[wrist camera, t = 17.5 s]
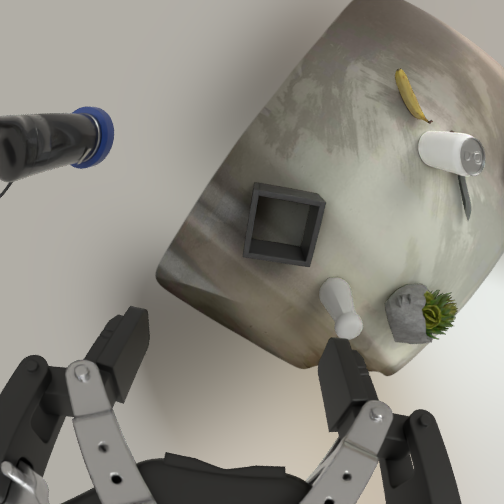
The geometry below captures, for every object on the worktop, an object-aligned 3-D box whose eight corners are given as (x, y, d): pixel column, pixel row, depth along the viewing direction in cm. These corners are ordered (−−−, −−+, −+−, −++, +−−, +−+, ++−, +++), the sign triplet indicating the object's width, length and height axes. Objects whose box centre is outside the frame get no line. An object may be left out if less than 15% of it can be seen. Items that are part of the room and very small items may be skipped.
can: (444, 167, 39) (486, 180, 28) (416, 165, 40) (458, 177, 29) (444, 132, 37) (487, 137, 26) (416, 128, 37) (458, 131, 26)
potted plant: (380, 286, 45) (456, 264, 39) (384, 297, 55) (445, 280, 49) (391, 353, 40) (470, 331, 34) (392, 351, 51) (456, 334, 44)
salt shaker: (310, 290, 50) (323, 336, 38) (330, 266, 48) (351, 309, 36) (333, 304, 51) (350, 351, 39) (353, 282, 49) (376, 326, 37)
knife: (467, 218, 43) (476, 223, 40) (462, 221, 43) (471, 226, 40) (448, 129, 36) (457, 130, 33) (442, 131, 37) (452, 132, 34)
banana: (384, 75, 34) (394, 71, 30) (393, 70, 33) (404, 65, 30) (415, 126, 37) (427, 126, 33) (424, 120, 36) (436, 120, 33)
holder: (244, 241, 46) (242, 257, 41) (254, 182, 42) (253, 189, 37) (304, 251, 47) (309, 267, 41) (317, 193, 43) (326, 202, 37)
